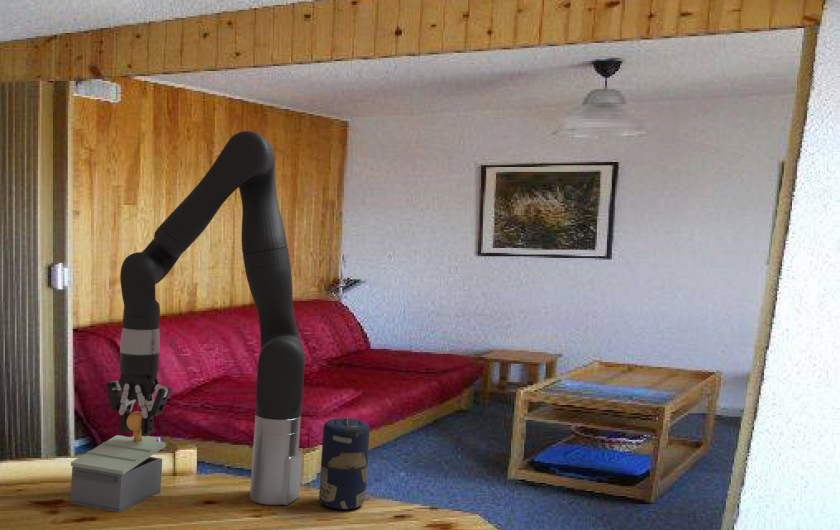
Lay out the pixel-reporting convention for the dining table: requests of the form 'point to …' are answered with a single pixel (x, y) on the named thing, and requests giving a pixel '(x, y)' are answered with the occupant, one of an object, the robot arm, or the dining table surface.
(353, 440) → the canister
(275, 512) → the dining table surface
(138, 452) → the lid
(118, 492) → the parts tub
